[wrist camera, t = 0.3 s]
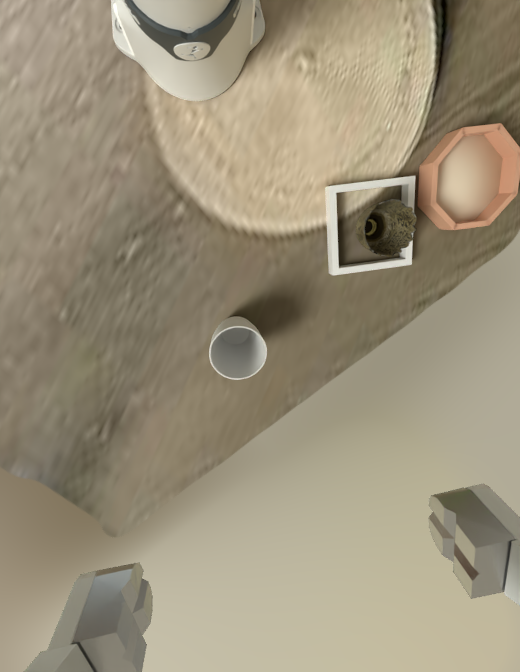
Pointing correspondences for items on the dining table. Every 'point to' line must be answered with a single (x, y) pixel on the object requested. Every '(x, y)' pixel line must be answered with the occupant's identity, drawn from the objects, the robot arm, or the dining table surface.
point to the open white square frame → (332, 231)
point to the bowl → (469, 177)
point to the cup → (237, 349)
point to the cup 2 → (387, 227)
